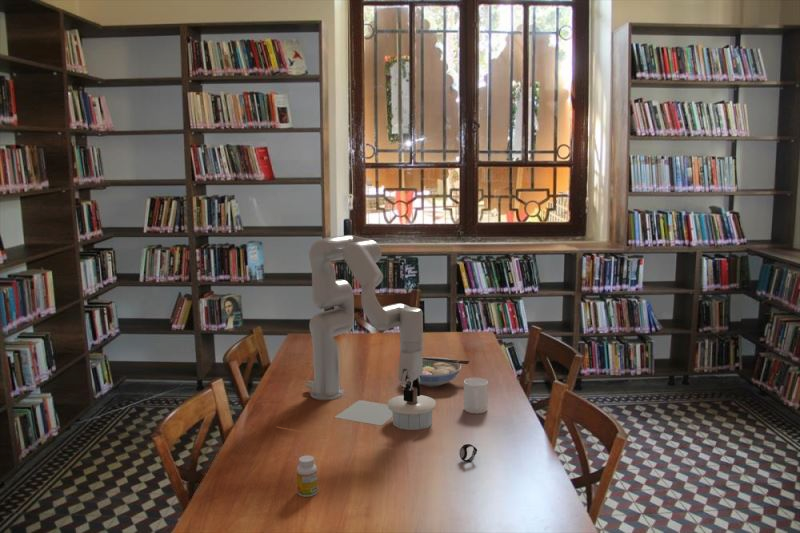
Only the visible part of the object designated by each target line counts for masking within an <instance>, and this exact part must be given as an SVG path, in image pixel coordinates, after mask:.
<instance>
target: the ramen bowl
mask: <svg viewBox="0 0 800 533" xmlns="http://www.w3.org/2000/svg"><path fill="white" fill-rule="evenodd" d="M469 363H470V360H462V359H461V360H460V359H459V360H458V359H452V358H447V357H439V356H438V357H437V356H425V357H423V373H422V375H421V378H420V381H421V383H420V384H419V385H423V386H425V387H432V388H434V387H440V386H443V385H445V384H447V383H449V382H452V381H453V380H455V378H456V377H457V375H458V374H459V373H460V371H461V368H462V364H463V365H468V364H469Z"/></svg>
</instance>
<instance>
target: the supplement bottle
mask: <svg viewBox="0 0 800 533" xmlns="http://www.w3.org/2000/svg"><path fill="white" fill-rule="evenodd" d="M296 484H297V485H296V487H297V488H296V491H297V494H298V495H299V496H300V497H304V498H309V497H313V496H316V495H317V493H318V492H319V491H318V490H319V488H318V467H317V465H316V464H315V457H314V456H312V455H307V454H306V455H303V456H300V457H299V459H298V466H296Z"/></svg>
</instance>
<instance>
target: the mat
mask: <svg viewBox="0 0 800 533" xmlns="http://www.w3.org/2000/svg"><path fill="white" fill-rule="evenodd" d="M333 418H335V419H339V420H346V421H351V422H358V423H364V424H369V425H374V426H380V427H382V426H383V425H384V424H386V423H387V422H388V421H390V419H392V411H391V410H390V409H389V408H388V403H380V402H373V401H368V400H367V401H366V400H362V399H359V400H358V401H356V402H354V403H352V404H351V405H350V406H349V407H347V408H345V409H344V410H343V411H341V412H340V413H338V414H337V415H335V416H334V417H333Z"/></svg>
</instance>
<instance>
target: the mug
mask: <svg viewBox="0 0 800 533" xmlns="http://www.w3.org/2000/svg"><path fill="white" fill-rule="evenodd" d="M488 390H489V382H488V380H487V379H484V378H481V377H470V378H466V379H464V380H463V409H464V411H465V412H466V413H468V414H474V415H479V413H480V414H483V413H486V412H487V411H488V408H489V407H488V404H489V403H488V402H489V400H488V398H489V396H488V392H489V391H488Z"/></svg>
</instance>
